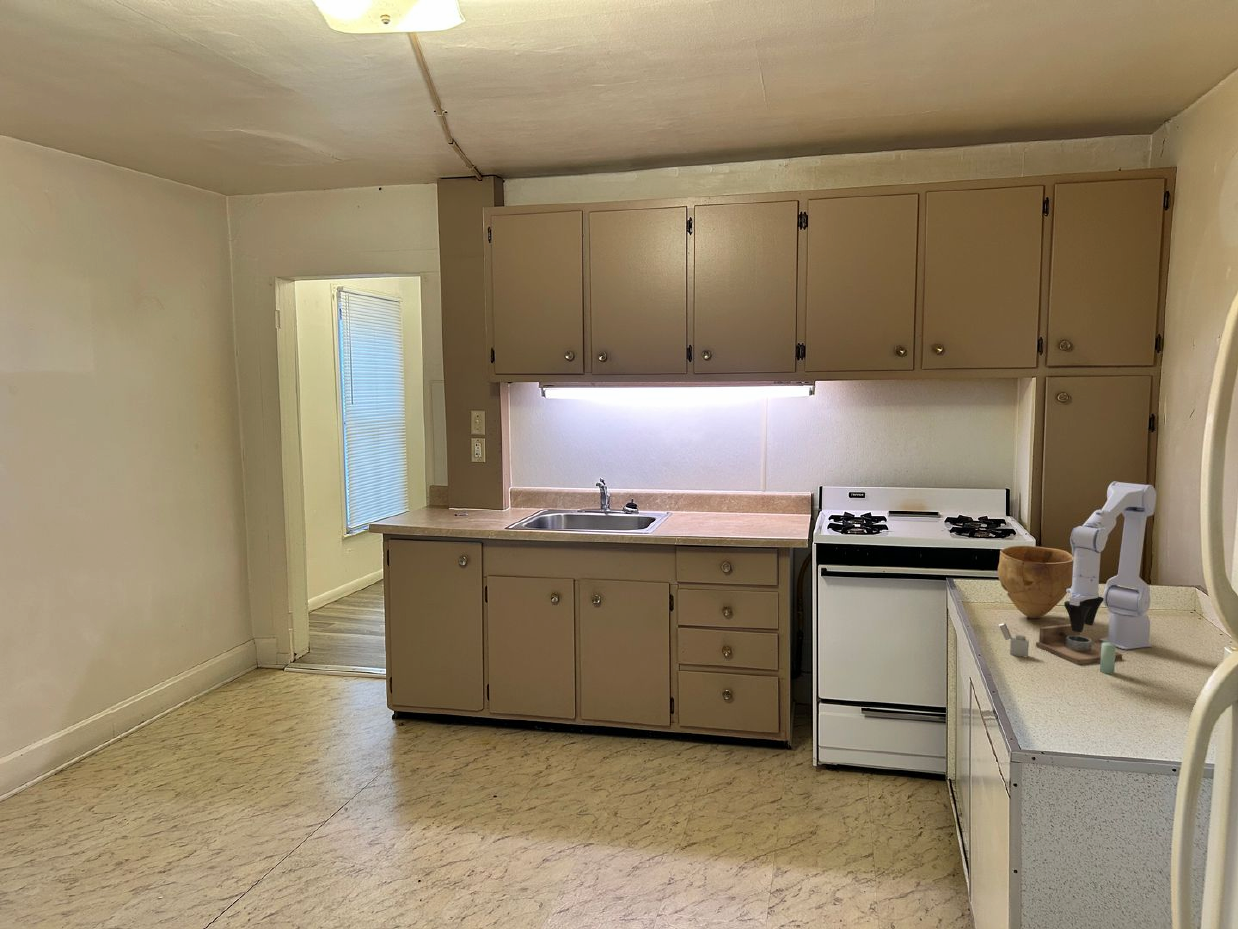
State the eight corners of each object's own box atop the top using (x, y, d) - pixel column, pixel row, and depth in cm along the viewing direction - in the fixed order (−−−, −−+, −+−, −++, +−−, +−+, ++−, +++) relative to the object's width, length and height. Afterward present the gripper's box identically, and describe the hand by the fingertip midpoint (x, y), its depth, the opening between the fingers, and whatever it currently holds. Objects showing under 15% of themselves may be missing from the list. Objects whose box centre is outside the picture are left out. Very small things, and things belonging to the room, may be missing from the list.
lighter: (1028, 655, 215) (1029, 625, 214) (1027, 657, 214) (1029, 627, 213) (998, 650, 219) (999, 621, 218) (997, 652, 217) (999, 623, 217)
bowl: (1086, 629, 236) (1090, 560, 234) (1014, 629, 237) (1018, 560, 234) (1049, 607, 257) (1053, 544, 255) (983, 607, 257) (986, 544, 255)
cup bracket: (1078, 641, 226) (1079, 623, 225) (1121, 659, 212) (1123, 639, 212) (1035, 646, 222) (1036, 627, 221) (1077, 664, 209) (1078, 644, 208)
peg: (1106, 669, 206) (1108, 641, 205) (1117, 673, 203) (1118, 645, 202) (1097, 670, 205) (1098, 643, 204) (1107, 674, 202) (1109, 647, 201)
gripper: (1078, 567, 213) (1075, 618, 215) (1057, 577, 204) (1054, 630, 205) (1109, 571, 208) (1105, 624, 210) (1089, 582, 198) (1085, 637, 200)
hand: (1082, 627), depth 207 cm, fingers open, 7 cm apart
